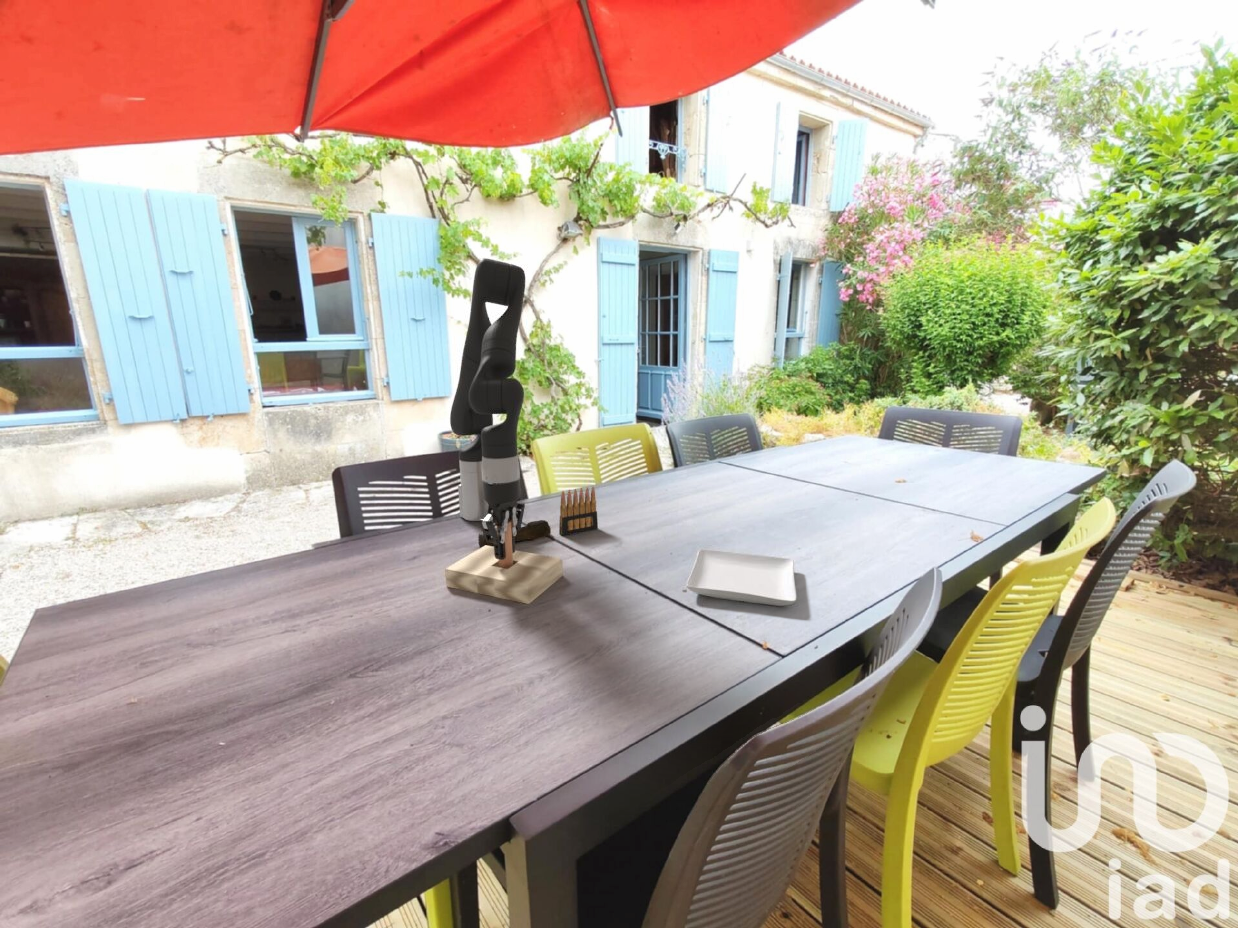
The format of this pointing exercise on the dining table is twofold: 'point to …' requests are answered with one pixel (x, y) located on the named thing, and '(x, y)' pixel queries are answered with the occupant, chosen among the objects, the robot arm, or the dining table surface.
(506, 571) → the hole block
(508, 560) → the peg
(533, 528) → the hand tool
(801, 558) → the dining table surface
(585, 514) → the ammunition clip
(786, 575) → the salad plate
